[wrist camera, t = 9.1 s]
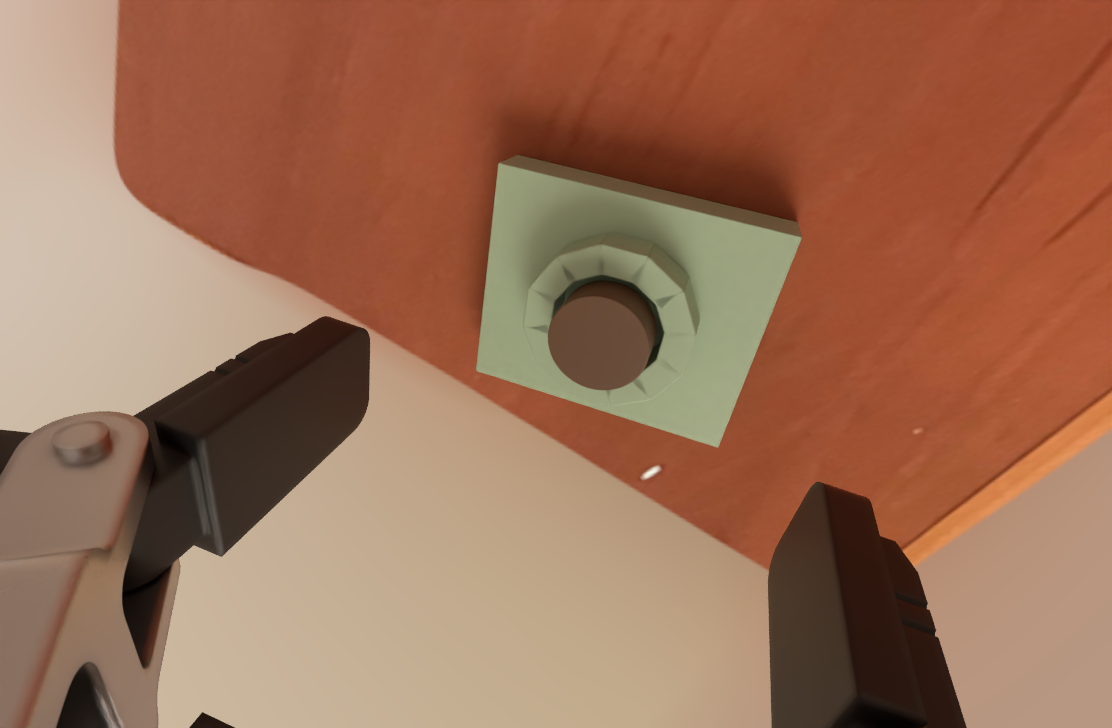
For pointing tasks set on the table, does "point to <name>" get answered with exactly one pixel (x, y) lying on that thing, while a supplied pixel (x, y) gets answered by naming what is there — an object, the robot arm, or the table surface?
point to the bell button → (602, 335)
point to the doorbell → (645, 266)
